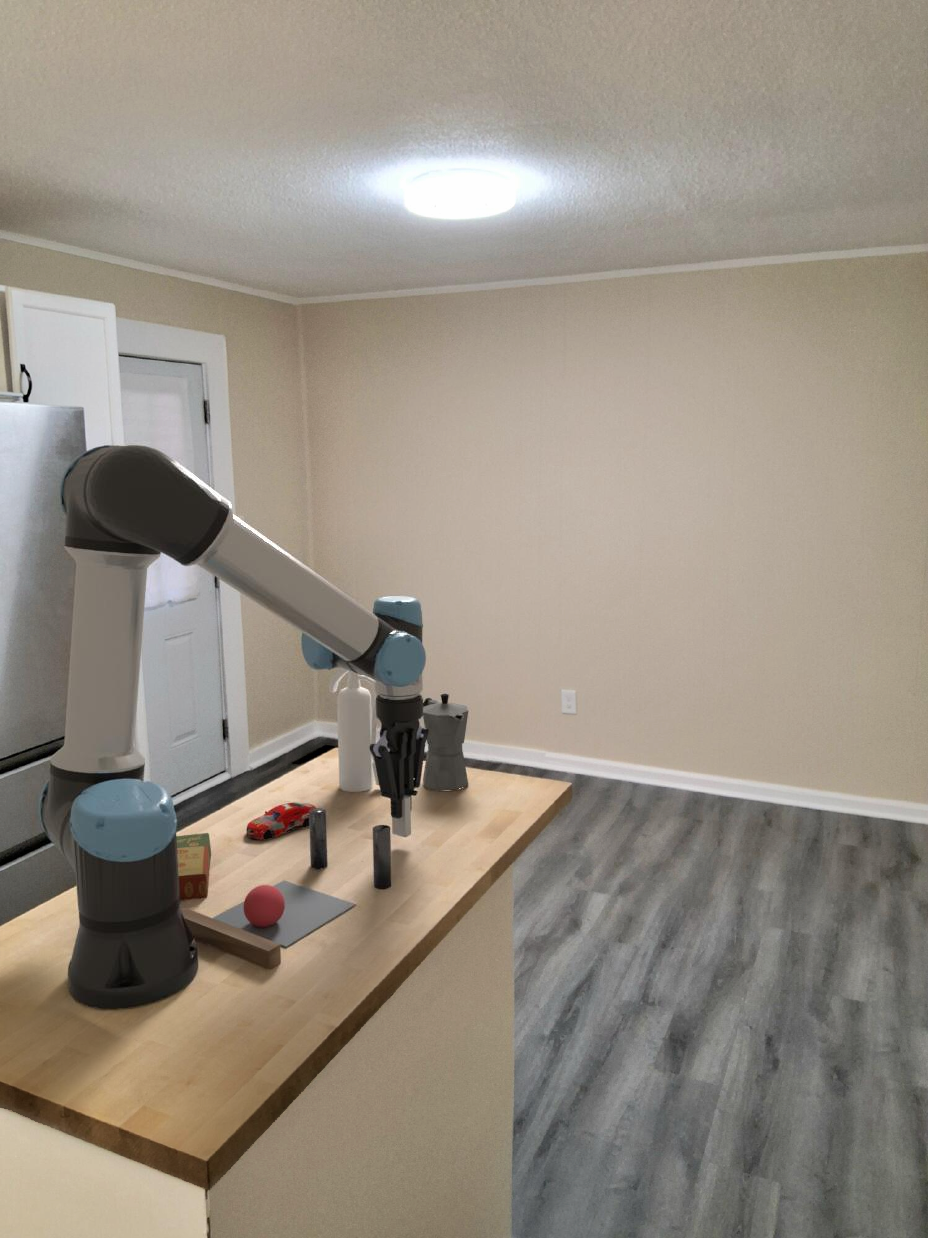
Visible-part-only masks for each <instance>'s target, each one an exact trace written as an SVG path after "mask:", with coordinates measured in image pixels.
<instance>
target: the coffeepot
mask: <svg viewBox="0 0 928 1238" xmlns="http://www.w3.org/2000/svg"><path fill="white" fill-rule="evenodd" d="M440 698H441V702H439V701H438V700H436V699H432V698H431V697H426V698H425V699H424V700H423V716H422V718H423V725H424V728H428V729H429V734H428V737H427V740H426V744H427V751H426V758H425V764H424V771H423V775H422V776H423V777H422V783H423V787H425V788H426V789H428V788H429V789H428V790H431V789H432V790H431V791H435V790H438V791H437V792H442V791H441V790H455V791H459V790H460V789H459V788H462V787H464V788H466V787H467V786H468V785H469V779H468V774H467V768H466V762H465V761H466V760H465V756H464V755H465V754H464V752H463V744H464V743H465V739H466V730H467V724H468V717H469V709H468V707H467V705H464V704H459V703H453V702H449V699H450V695H449V694H447V693H442V694H440ZM466 785H467V786H466ZM465 786H466V787H465ZM458 789H459V790H458ZM462 789H463V788H462Z"/></svg>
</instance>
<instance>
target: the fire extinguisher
mask: <svg viewBox="0 0 928 1238" xmlns="http://www.w3.org/2000/svg"><path fill="white" fill-rule="evenodd" d="M332 670H337V671H338V672H337V673H335V674H334V676H333V677H332V678H331V680H330V681H329V686H328V691H329V692H330V693H331V694H332V693H335V692H337V690H338V687H339V684H340V681H342V678H343V677H345V675H346V674H348V676H347V681H346V683H347V684H346V687H344V688H341V689H340V691H339V692H338V694H337V697H336V708H337V711H336V712H337V715H336V716H337V717H336V718H337V747H338V748H337V749H338V781H339V782H338V783H339V784H338V786H339V789H341V790H342V791H343V792H349V793H360V792H361V793H362V792H366V791H369V790H371V789H372V788H373V787H374V783H375V785H376V786H379V781H378V776H377V771H376V766H375V760H374V757H373V755H372V753H371V751H370V745H371V744H377V742H376V741H377V719H378V718H377V716H376V697H377V695H378V693H377V692H376V691H375V680H374V679H372V678H369V677H367V676H364V675H360V674H358V673H355V672H352V671H349V670H346V669H344V668H333V669H332ZM361 681H366V682H368V683H369V684H371V685H372V687H373V693H374V700H373V705H372V695H371V692H370V690H369V689H367V688H366V687H362V685H361ZM374 781H375V782H374Z"/></svg>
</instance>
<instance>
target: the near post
mask: <svg viewBox="0 0 928 1238" xmlns="http://www.w3.org/2000/svg"><path fill="white" fill-rule="evenodd" d="M391 834H392V833H391V826H389V825H386V824H378V825H375V826H373V827H372V856H373V857H372V858H373V860H372V861H373V864H372V865H373V866H372V867H373V887H374V888H375V889H376V890H382V891H384V890H388V889H390V888H391V887H392V849H391V848H392V847H391V846H392V845H391V842H392V841H391V840H392V839H391V837H392V835H391Z"/></svg>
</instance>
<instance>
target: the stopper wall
mask: <svg viewBox="0 0 928 1238" xmlns="http://www.w3.org/2000/svg"><path fill="white" fill-rule="evenodd" d="M181 911H182V913H183V915H184V918H185V920H186V922H187V924H188V927H189V929H190V931H191V933H192V936H193V938H194V940H196V941H198V942H200V943H203V944H206V945H208V946H210V947H213V948H215V949H217V950H220V951H223V952H225V953H227V954H229V955H232V956H234V957H237V958H240V959H242V960H244V961H247V962H250V963H252V964H254V965H257V966H259V967H262V968H264V969H267V970H271V969H273V968H274V967H277V966H278V965H280V964H282V954H281V953H282V952H281V946H280V944H278V943H276V942H273V941H270V940H268V939H265V938H262V937H260V936H257V935H255V934H252V933H249V932H247V931H244V930H242V929H239V928H236V927H234V926H231V925H229V924H226V923H223V922H221V921H218V920H216V919H213V917H210V916H208V915H205V914H202V913H201V912H197V911H195V910H192V909H189V908H187V907H182V908H181Z"/></svg>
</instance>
